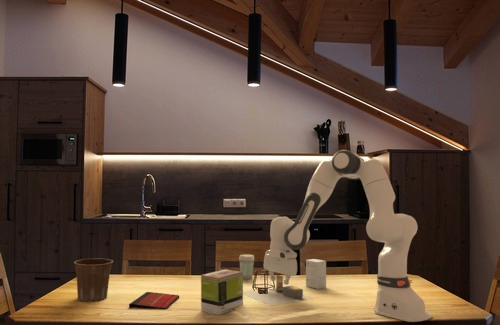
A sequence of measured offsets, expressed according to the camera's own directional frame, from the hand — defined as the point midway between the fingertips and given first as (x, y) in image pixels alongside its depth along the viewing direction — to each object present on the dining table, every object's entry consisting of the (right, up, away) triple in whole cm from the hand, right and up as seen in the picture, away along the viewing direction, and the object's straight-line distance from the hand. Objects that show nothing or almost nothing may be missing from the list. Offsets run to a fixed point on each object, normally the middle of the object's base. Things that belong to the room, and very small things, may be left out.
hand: (279, 282), depth 211 cm
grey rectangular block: (+5, -4, -9) cm, 11 cm away
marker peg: (0, -4, 0) cm, 4 cm away
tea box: (-25, -5, -25) cm, 35 cm away
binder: (-54, -5, -15) cm, 56 cm away
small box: (+19, -7, +16) cm, 26 cm away
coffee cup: (-15, -7, +35) cm, 39 cm away
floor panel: (-3, -5, -8) cm, 10 cm away
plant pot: (-82, -5, -10) cm, 83 cm away
